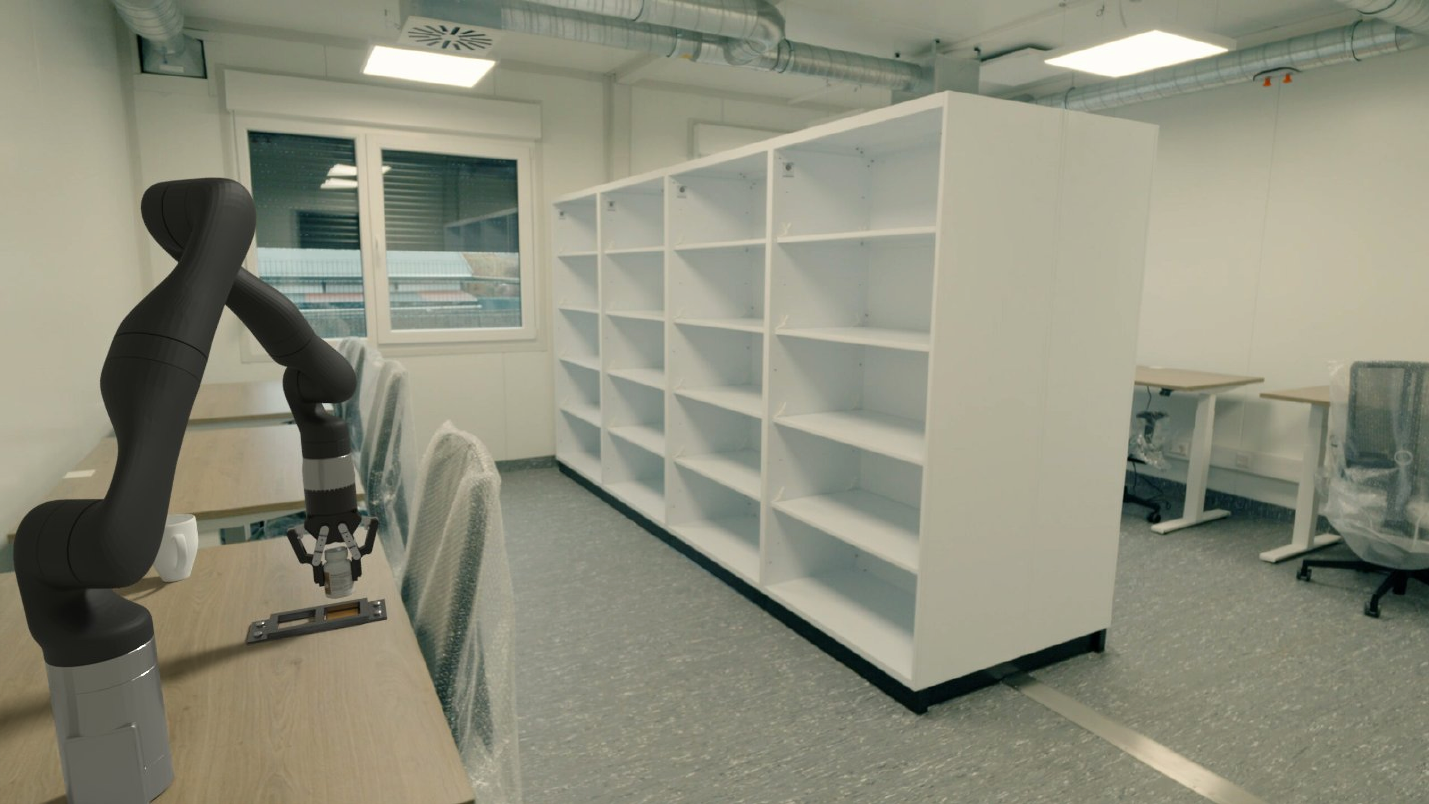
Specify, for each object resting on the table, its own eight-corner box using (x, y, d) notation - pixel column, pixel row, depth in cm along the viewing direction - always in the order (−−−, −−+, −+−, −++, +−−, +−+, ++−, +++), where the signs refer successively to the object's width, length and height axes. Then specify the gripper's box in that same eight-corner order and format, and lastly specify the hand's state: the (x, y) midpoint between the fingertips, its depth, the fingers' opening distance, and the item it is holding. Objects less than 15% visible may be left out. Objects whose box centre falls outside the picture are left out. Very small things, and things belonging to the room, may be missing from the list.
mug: (144, 578, 145) (136, 520, 143) (196, 566, 151) (189, 510, 149) (160, 595, 137) (151, 534, 135) (213, 582, 143) (206, 523, 141)
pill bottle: (325, 591, 128) (321, 547, 127) (354, 586, 130) (350, 543, 128) (324, 601, 124) (320, 555, 123) (354, 596, 126) (350, 551, 124)
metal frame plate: (387, 618, 127) (386, 612, 127) (247, 644, 118) (246, 637, 118) (384, 601, 134) (384, 594, 134) (252, 624, 125) (251, 617, 125)
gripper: (277, 493, 117) (288, 598, 120) (378, 481, 123) (387, 582, 126) (280, 482, 124) (291, 582, 127) (376, 471, 130) (384, 567, 133)
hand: (339, 581), depth 126 cm, fingers closed on pill bottle, 4 cm apart
